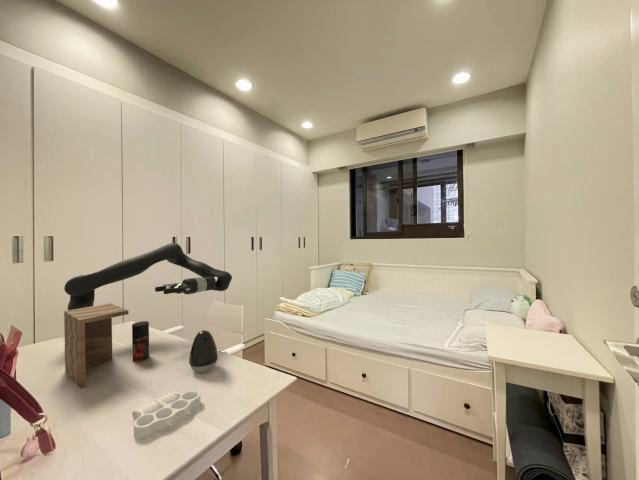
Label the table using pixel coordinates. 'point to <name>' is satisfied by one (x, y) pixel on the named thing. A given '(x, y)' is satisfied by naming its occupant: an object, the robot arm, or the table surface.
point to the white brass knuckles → (164, 413)
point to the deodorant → (140, 341)
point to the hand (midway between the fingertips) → (159, 290)
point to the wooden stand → (88, 338)
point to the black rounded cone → (203, 352)
